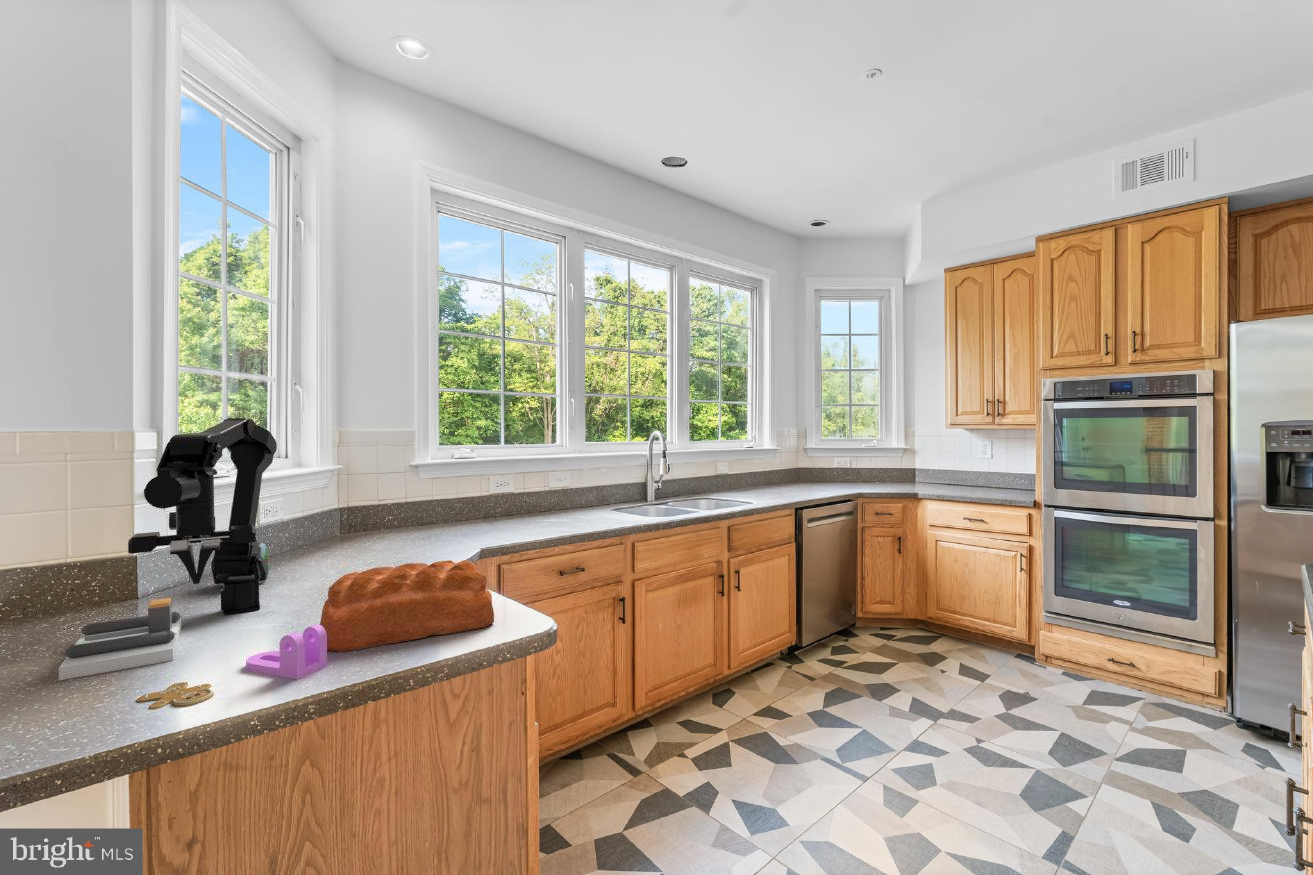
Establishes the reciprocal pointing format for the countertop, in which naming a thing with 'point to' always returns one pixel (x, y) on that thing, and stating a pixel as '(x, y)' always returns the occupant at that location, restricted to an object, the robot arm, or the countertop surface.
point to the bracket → (294, 655)
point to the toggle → (160, 615)
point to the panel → (119, 657)
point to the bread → (405, 604)
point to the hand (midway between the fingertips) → (196, 583)
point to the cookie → (178, 695)
